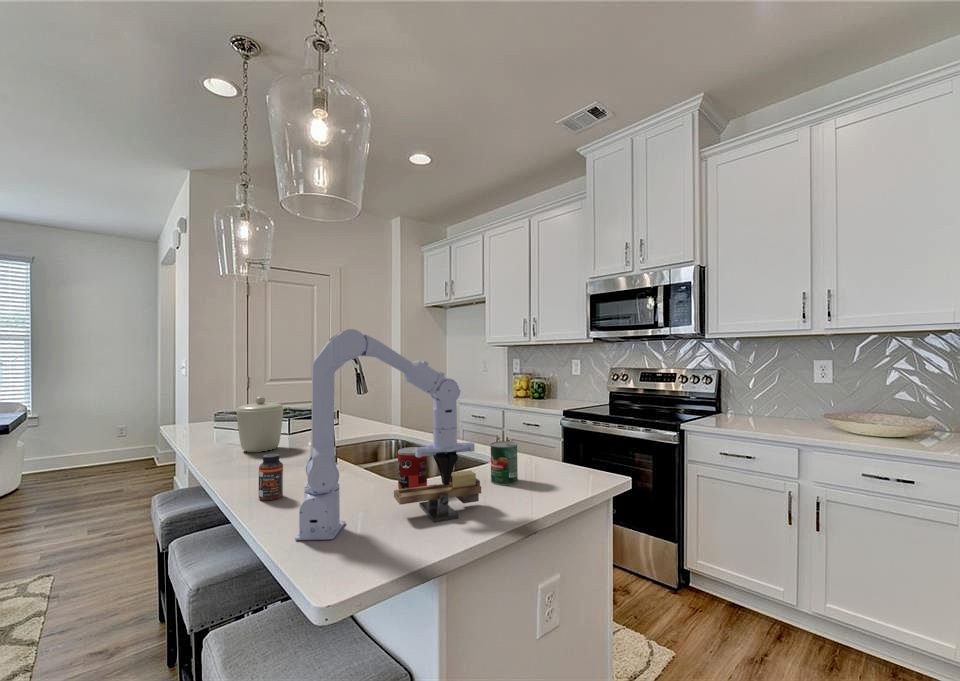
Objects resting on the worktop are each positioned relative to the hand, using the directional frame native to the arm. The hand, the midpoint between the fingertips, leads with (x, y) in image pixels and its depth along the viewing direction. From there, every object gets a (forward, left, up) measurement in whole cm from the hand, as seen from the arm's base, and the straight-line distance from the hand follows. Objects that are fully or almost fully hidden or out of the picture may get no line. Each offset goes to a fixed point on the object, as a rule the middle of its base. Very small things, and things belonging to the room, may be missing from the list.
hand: (445, 483), depth 111 cm
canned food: (+17, +10, -7) cm, 21 cm away
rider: (+2, -4, -1) cm, 4 cm away
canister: (+72, +77, -7) cm, 106 cm away
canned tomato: (+23, -16, -7) cm, 29 cm away
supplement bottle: (+12, +47, -7) cm, 49 cm away
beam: (-1, +2, -4) cm, 5 cm away
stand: (-1, +2, -6) cm, 7 cm away
